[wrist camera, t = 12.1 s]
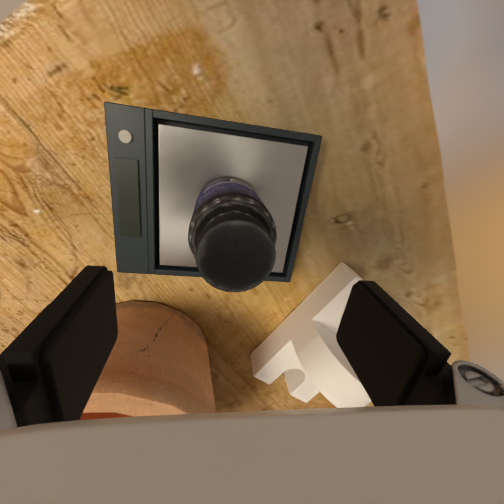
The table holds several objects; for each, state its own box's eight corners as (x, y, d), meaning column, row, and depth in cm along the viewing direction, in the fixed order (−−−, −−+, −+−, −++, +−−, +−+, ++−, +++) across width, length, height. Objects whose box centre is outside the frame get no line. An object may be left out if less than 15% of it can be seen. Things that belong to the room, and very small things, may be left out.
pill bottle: (182, 198, 24) (157, 243, 14) (238, 162, 23) (255, 182, 13) (219, 249, 26) (220, 318, 16) (271, 218, 26) (305, 271, 16)
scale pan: (160, 261, 27) (159, 265, 26) (160, 124, 22) (158, 123, 21) (281, 269, 29) (282, 272, 28) (305, 145, 24) (308, 146, 23)
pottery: (8, 340, 31) (-144, 489, 18) (158, 246, 28) (108, 340, 15) (134, 428, 40) (93, 571, 27) (257, 362, 37) (278, 484, 24)
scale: (126, 259, 29) (116, 273, 26) (117, 105, 23) (102, 101, 20) (283, 269, 32) (290, 283, 29) (311, 135, 26) (323, 135, 23)
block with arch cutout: (298, 380, 40) (326, 462, 30) (249, 354, 36) (262, 437, 26) (388, 299, 35) (455, 363, 25) (341, 261, 32) (398, 318, 22)
